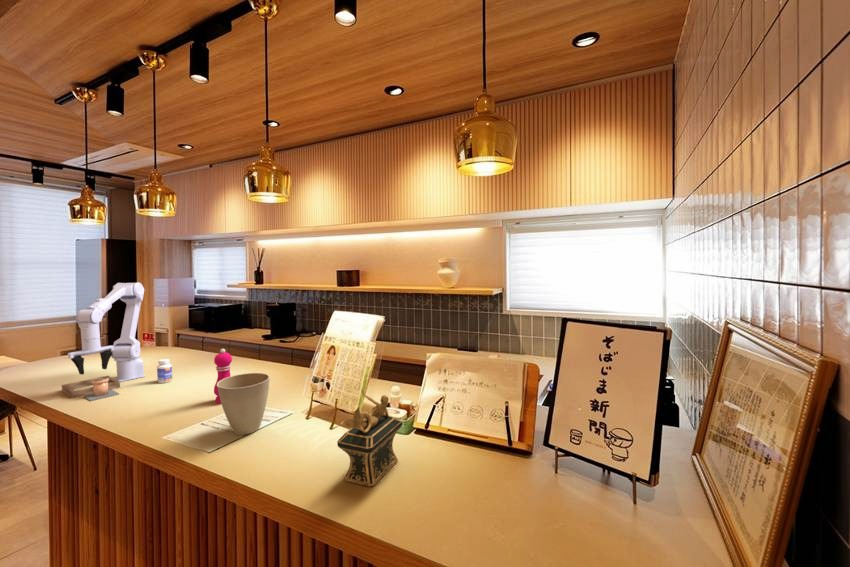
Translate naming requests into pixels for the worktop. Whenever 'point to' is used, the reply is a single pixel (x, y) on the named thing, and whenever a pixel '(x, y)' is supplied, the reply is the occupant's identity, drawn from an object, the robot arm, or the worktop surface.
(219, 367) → the pepper mill
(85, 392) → the frame
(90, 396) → the slate mat
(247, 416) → the plant pot
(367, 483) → the decorative box
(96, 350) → the robot arm
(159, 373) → the pill bottle
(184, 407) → the worktop surface
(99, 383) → the terracotta pot
